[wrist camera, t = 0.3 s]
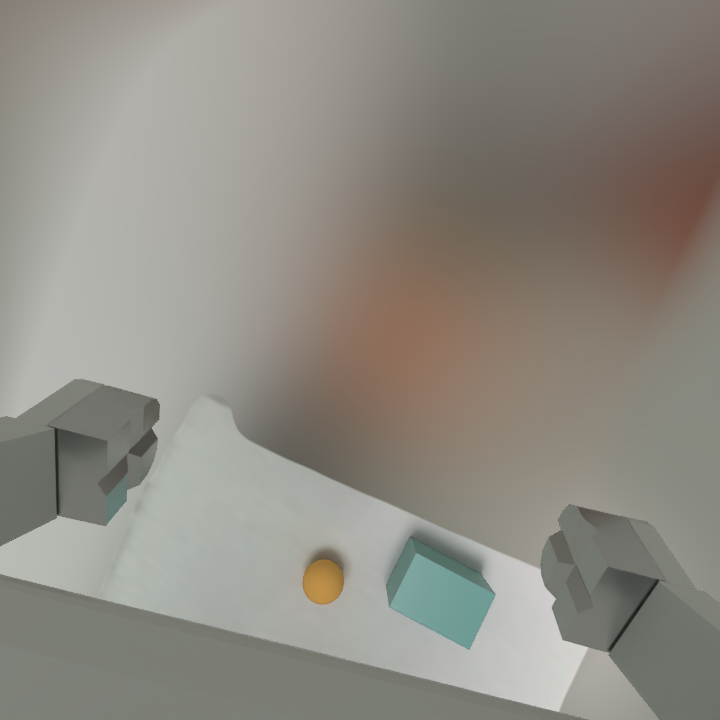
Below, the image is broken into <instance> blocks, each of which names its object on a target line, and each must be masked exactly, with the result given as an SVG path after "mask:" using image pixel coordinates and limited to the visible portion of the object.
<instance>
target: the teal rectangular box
mask: <svg viewBox="0 0 720 720" xmlns="http://www.w3.org/2000/svg"><path fill="white" fill-rule="evenodd" d="M386 589H387V595H388V602H389V607H390V608H392V609H393V610H395V611H397V612H399V613H401V614H403V615H405V616H407V617H409V618H410V619H412V620H414V621H416V622H418V623H420V624H422V625H424V626H425V627H427V628H429V629H431V630H433V631H435V632H437V633H439V634H441V635H442V636H444V637H446V638H448V639H450V640H452V641H454V642H456V643H458V644H459V645H461V646H463V647H465V648H467V649H470V647H471V645H472V643H473V641H474V639H475V637H476V635H477V633H478V631H479V629H480V626H481V624H482V622H483V620H484V618H485V616H486V614H487V612H488V610H489V608H490V605H491V603H492V601H493V599H494V597H495V593H494V592H493V590H492V589H491V587H490V586H489V584H488V583H487V582H486V580H485V579H484V577H483V576H482V574H480V573H478V572H476V571H474V570H472V569H470V568H468V567H466V566H464V565H463V564H461V563H459V562H457V561H455V560H453V559H451V558H449V557H447V556H445V555H444V554H442V553H440V552H438V551H436V550H434V549H432V548H430V547H428V546H426V545H425V544H423V543H421V542H419V541H417V540H415V539H413V538H411V537H410V538H409V540H408V542H407V544H406V546H405V548H404V550H403V552H402V555H401V557H400V559H399V561H398V563H397V565H396V567H395V569H394V571H393V573H392V575H391V577H390V579H389V581H388V583H387V585H386Z"/></svg>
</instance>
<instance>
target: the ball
mask: <svg viewBox="0 0 720 720" xmlns="http://www.w3.org/2000/svg"><path fill="white" fill-rule="evenodd" d="M343 584H344V578H343V573H342V571H341V569H340V568H339V566H338V565H337V564H336V563H334V562H333V561H331V560H327V559H321V560H317V561H315V562H313V563H312V564H311V565H310V566H309V567H308V568H307V569H306V571H305V573H304V576H303V589H304V592H305V594H306V596H307V597H308V598H309V599H310V600H311V601H313V602H314V603H317V604H328V603H331V602H333V601H334V600H335V599H337V598H338V596H339V595H340V593H341V591H342V589H343Z"/></svg>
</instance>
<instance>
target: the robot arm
mask: <svg viewBox="0 0 720 720" xmlns="http://www.w3.org/2000/svg"><path fill="white" fill-rule="evenodd" d="M159 410H160V404H159V402H158V401H157V399H155V398H151V397H147V396H144V395H140V394H136V393H133V392H129V391H125V390H122V389H118V388H115V387H111V386H105V385H103V384H100V383H96V382H92V381H88V380H84V379H75V380H73V381H71V382H70V383H68V384H67V385H66V386H64V387H63V388H61V389H59V390H58V391H56V392H55V393H53V394H52V395H50V396H49V397H47V398H46V399H44V400H43V401H41V402H40V403H38V404H37V405H35V406H34V407H32V408H31V409H29V410H28V411H26V412H25V413H23V414H21V415H20V416H18V417H17V418H11V417H7V416H6V417H2V418H0V546H2V545H3V544H5V543H7V542H9V541H12V540H14V539H16V538H18V537H20V536H22V535H23V534H26V533H28V532H30V531H32V530H34V529H36V528H38V527H40V526H42V525H44V524H46V523H48V522H50V521H52V520H54V519H56V518H57V516H62V517H66V518H71V519H75V520H80V521H85V522H89V523H94V524H98V525H103V526H106V525H107V524H108V522H109V521H110V520H111V519H112V517H113V516H114V515H115V514H116V513H117V512H118V510H119V509H120V508H121V507H122V506H123V504H124V503H125V502H126V499H127V498H126V497H127V490H128V489H130V488H133V487H135V486H138V485H140V483H141V482H142V481H143V480H144V478H145V477H146V476H147V474H148V472H149V470H150V468H151V466H152V463H153V461H154V458H155V454H156V450H157V441H158V440H157V439H158V438H157V437H156V435H155V433H154V432H153V430H152V426H153V425H154V424H155V423H156V422H157V421H158V420H159ZM558 522H559V525H560V529H561V531H559V532H557V533H555V534H554V535H552V536H550V537H549V538H548V540H547V542H546V544H545V546H544V548H543V551H542V557H541V575H542V578H543V582H544V585H545V587H546V588H547V589H548V590H549V591H550V593H551V594H552V595H553V596H554V597H555V598H556V600H555V602H554V604H553V606H552V610H553V613H554V616H555V619H556V621H557V624H558V627H559V630H560V633H561V636H562V639H563V640H565V641H568V642H572V643H575V644H579V645H583V646H586V647H590V648H594V649H597V650H601V651H604V652H608V653H609V656H610V658H611V659H612V660H613V661H614V663H615V664H616V665H617V666H618V668H619V669H620V670H621V672H622V673H623V674H624V675H625V677H626V678H627V679H628V680H629V682H630V683H631V684H632V685H633V687H634V688H635V689H636V690H637V692H638V693H639V694H640V695H641V697H642V698H643V699H644V701H645V702H646V703H647V704H648V706H649V707H650V708H651V709H652V711H653V712H654V713H655V714H656V716H657V717H658V718H659V719H660V720H720V603H719V602H718V601H716V600H715V599H714V598H712V597H711V596H710V595H709V594H707V593H706V592H703V591H699V590H697V589H696V588H695V586H694V585H693V583H692V582H691V580H690V579H689V577H688V576H687V574H686V573H685V571H684V570H683V569H682V567H681V566H680V564H679V563H678V561H677V560H676V558H675V557H674V555H673V554H672V553H671V551H670V550H669V548H668V547H667V545H666V544H665V542H664V541H663V539H662V538H661V536H660V535H659V534H658V532H657V531H656V529H655V528H654V526H652V525H651V524H649V523H648V522H646V521H642V520H637V519H632V518H628V517H624V516H617V515H613V514H608V513H604V512H600V511H596V510H591V509H587V508H583V507H578V506H574V505H570V504H569V505H568V506H567V507H566V508H565V509H564V510H563V511H562V513H561V515H560V517H559V519H558ZM0 720H588V719H584V718H580V717H576V716H572V715H568V714H564V713H560V712H556V711H552V710H548V709H544V708H540V707H536V706H532V705H528V704H524V703H520V702H516V701H511V700H507V699H503V698H499V697H495V696H491V695H487V694H483V693H479V692H475V691H471V690H467V689H463V688H459V687H455V686H451V685H447V684H443V683H439V682H435V681H431V680H427V679H423V678H418V677H414V676H410V675H406V674H402V673H398V672H394V671H390V670H386V669H382V668H378V667H374V666H370V665H366V664H362V663H358V662H354V661H350V660H346V659H342V658H338V657H334V656H330V655H326V654H322V653H318V652H313V651H309V650H305V649H301V648H297V647H293V646H289V645H285V644H281V643H277V642H273V641H269V640H265V639H261V638H257V637H253V636H249V635H245V634H240V633H236V632H232V631H228V630H224V629H220V628H216V627H212V626H208V625H204V624H200V623H196V622H191V621H187V620H183V619H179V618H175V617H171V616H167V615H163V614H159V613H155V612H151V611H146V610H142V609H138V608H134V607H130V606H126V605H122V604H118V603H114V602H110V601H106V600H102V599H97V598H93V597H89V596H85V595H81V594H77V593H73V592H69V591H65V590H61V589H57V588H53V587H49V586H45V585H41V584H37V583H33V582H29V581H25V580H21V579H17V578H13V577H9V576H5V575H1V574H0Z"/></svg>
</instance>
